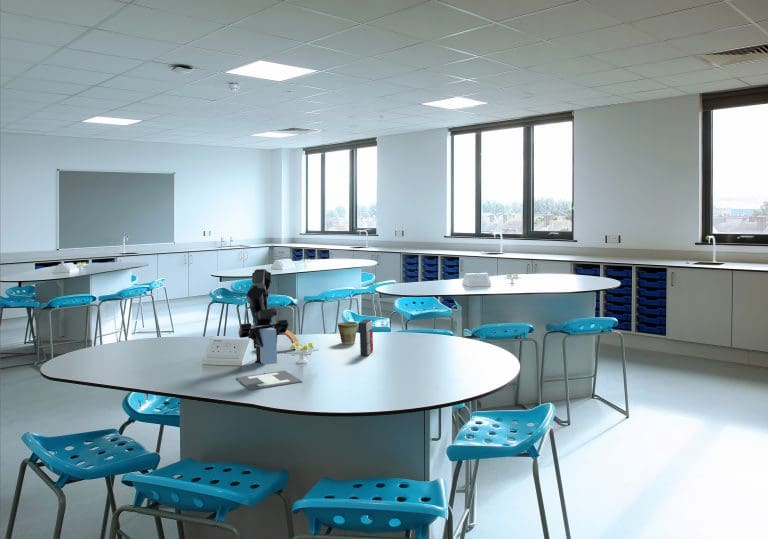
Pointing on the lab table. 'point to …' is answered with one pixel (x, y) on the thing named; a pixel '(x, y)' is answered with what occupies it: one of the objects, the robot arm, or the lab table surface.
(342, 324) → the ceramic cup
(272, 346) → the blue block
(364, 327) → the black and red box
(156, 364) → the lab table surface
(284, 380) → the letter mat
